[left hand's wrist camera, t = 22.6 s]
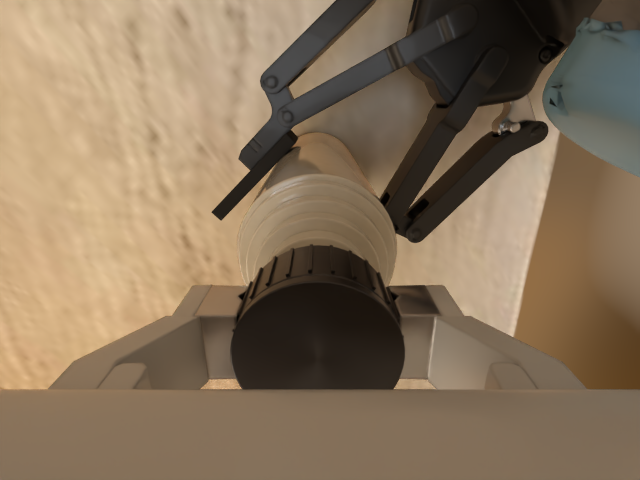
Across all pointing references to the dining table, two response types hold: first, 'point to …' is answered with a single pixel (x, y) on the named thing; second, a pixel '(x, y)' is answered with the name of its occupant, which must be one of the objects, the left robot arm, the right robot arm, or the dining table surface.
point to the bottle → (316, 209)
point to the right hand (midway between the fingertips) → (261, 244)
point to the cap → (317, 325)
